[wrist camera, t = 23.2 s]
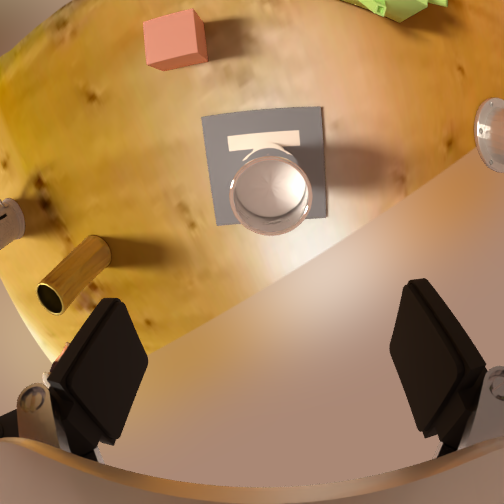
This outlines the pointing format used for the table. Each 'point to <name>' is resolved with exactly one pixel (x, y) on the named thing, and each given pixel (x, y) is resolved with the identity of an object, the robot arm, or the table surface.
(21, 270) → the table surface
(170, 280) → the table surface
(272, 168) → the beer glass
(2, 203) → the grey and black mug
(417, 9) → the kettle
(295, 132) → the board
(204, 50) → the block
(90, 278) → the vase
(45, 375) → the grandmother figurine
